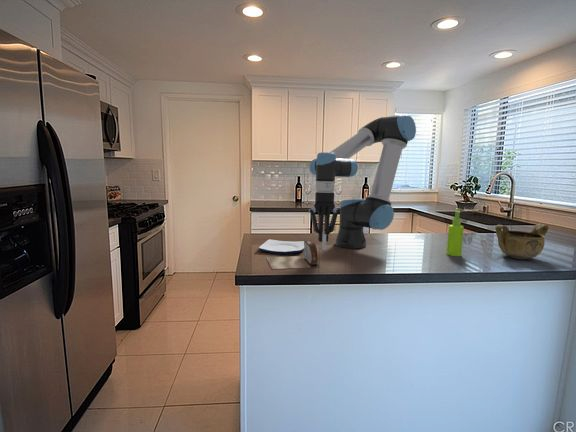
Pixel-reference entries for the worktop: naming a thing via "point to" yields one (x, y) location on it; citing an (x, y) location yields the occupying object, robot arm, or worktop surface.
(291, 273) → the worktop surface
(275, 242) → the plate
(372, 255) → the worktop surface
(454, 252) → the green bottle
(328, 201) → the robot arm
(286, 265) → the cork mat
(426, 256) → the worktop surface
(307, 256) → the bread slice
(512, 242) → the ceramic bowl
